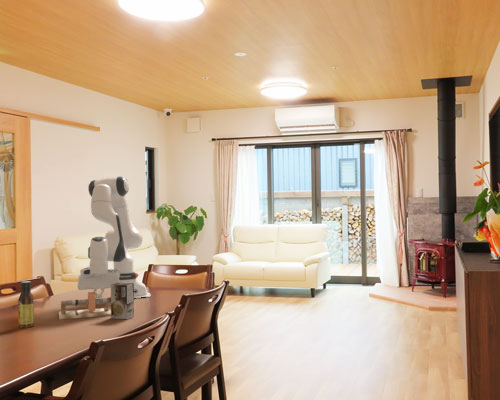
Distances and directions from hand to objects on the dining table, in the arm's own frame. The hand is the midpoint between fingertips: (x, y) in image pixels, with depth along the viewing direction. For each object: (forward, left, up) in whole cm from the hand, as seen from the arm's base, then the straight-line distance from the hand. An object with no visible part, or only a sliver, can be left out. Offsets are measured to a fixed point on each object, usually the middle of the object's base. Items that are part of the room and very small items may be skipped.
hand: (98, 297), depth 265 cm
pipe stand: (+7, +3, -7) cm, 10 cm away
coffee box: (-9, +17, -7) cm, 20 cm away
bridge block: (+4, +3, -5) cm, 7 cm away
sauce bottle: (+33, +21, -7) cm, 39 cm away
